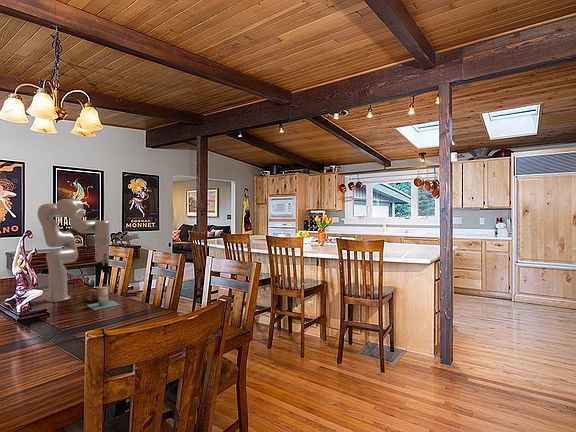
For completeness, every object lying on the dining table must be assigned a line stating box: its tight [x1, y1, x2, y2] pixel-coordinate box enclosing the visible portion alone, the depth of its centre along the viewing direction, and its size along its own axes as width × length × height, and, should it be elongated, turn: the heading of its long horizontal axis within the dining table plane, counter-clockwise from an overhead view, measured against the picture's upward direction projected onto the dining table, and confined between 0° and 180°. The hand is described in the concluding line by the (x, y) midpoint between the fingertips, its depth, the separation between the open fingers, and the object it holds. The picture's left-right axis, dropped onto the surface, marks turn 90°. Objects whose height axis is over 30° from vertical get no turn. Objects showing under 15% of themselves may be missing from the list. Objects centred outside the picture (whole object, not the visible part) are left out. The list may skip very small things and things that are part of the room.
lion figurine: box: [83, 284, 111, 302], centre depth 215 cm, size 15×5×9 cm, turn 108°
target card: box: [86, 300, 121, 311], centre depth 203 cm, size 14×14×1 cm
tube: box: [97, 286, 109, 306], centre depth 202 cm, size 5×5×10 cm
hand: (102, 271), depth 202 cm, fingers open, 9 cm apart
